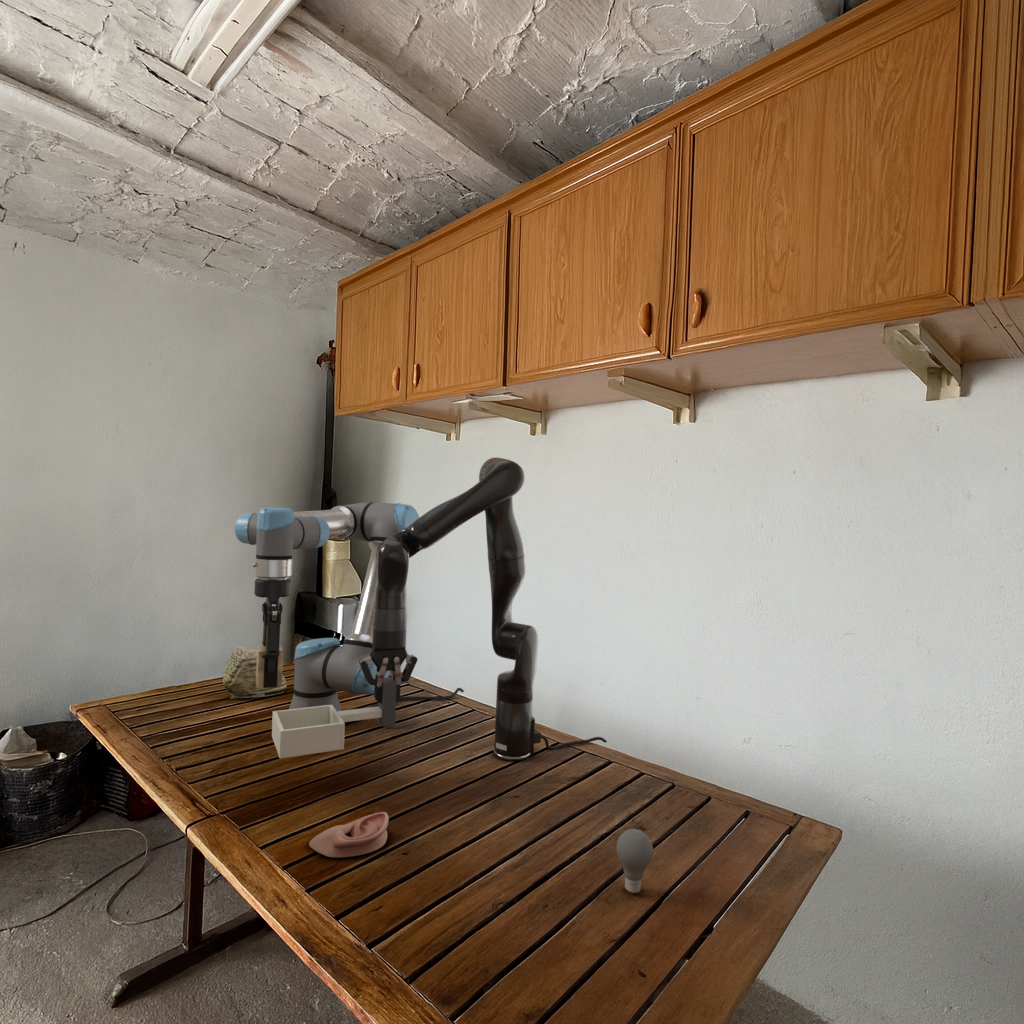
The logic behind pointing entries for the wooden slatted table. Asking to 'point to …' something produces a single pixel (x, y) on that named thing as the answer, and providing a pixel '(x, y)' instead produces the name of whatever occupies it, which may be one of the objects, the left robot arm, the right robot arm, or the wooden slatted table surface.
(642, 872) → the light bulb
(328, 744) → the handled bin
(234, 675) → the fossil
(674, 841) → the wooden slatted table surface
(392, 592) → the right robot arm
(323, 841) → the anatomical model
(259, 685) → the birch block
